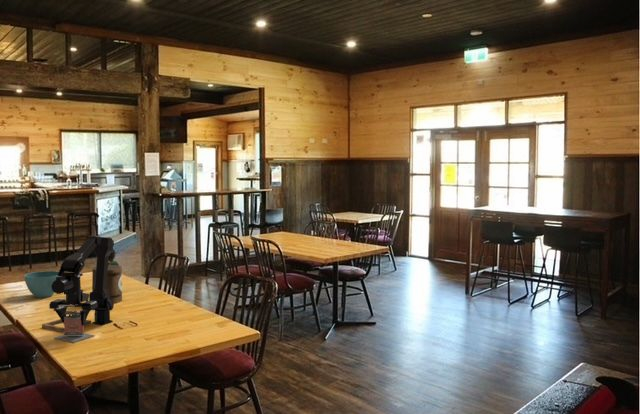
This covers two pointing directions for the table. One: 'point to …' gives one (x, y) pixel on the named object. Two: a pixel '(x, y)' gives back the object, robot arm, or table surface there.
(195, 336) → the table surface
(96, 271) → the robot arm
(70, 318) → the lighter
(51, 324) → the square wooden frame
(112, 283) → the wooden container
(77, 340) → the charcoal mat
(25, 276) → the teal bowl
